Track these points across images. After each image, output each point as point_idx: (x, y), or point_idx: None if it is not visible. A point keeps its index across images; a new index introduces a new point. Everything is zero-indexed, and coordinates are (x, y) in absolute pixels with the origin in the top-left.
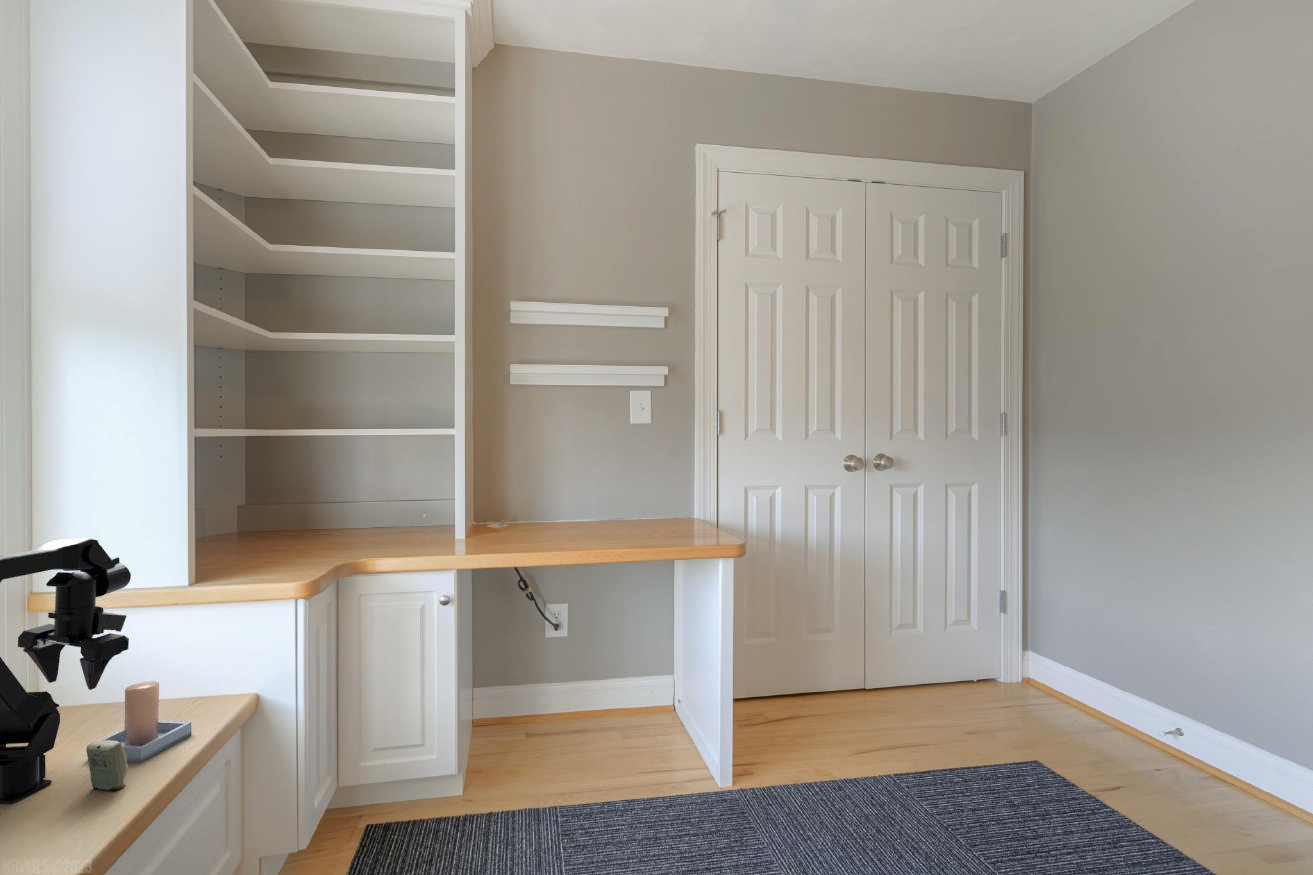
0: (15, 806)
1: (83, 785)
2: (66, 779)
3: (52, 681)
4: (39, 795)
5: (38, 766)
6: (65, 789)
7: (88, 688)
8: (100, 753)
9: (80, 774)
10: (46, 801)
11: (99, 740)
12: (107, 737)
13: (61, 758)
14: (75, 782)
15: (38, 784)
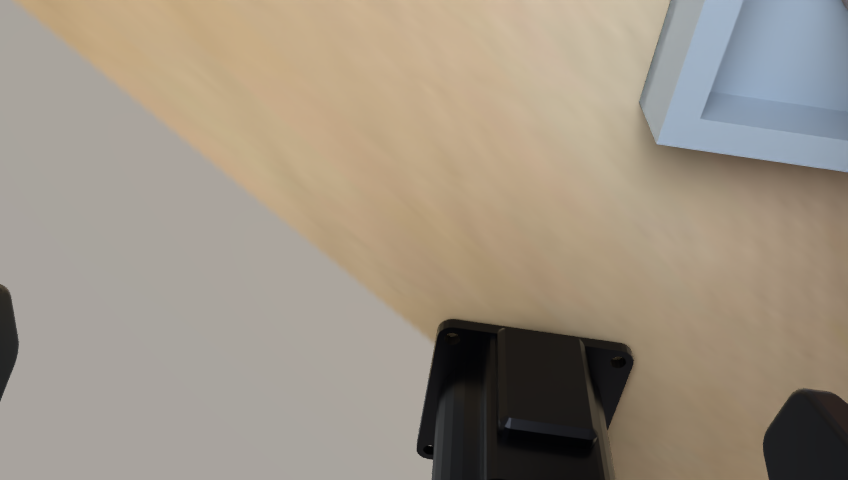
0: None
1: (809, 365)
2: (675, 311)
3: (15, 340)
4: (650, 420)
5: (609, 457)
6: (740, 388)
7: (772, 466)
8: None
9: (718, 271)
10: (721, 458)
11: (685, 66)
12: (720, 14)
13: (438, 82)
14: (747, 339)
15: (595, 384)
